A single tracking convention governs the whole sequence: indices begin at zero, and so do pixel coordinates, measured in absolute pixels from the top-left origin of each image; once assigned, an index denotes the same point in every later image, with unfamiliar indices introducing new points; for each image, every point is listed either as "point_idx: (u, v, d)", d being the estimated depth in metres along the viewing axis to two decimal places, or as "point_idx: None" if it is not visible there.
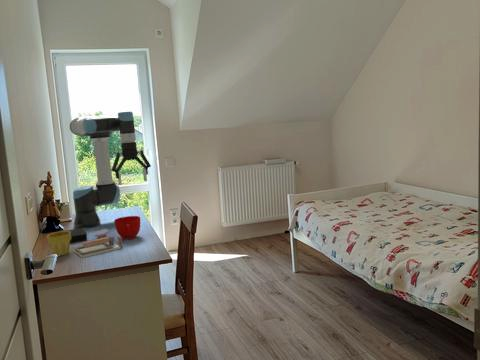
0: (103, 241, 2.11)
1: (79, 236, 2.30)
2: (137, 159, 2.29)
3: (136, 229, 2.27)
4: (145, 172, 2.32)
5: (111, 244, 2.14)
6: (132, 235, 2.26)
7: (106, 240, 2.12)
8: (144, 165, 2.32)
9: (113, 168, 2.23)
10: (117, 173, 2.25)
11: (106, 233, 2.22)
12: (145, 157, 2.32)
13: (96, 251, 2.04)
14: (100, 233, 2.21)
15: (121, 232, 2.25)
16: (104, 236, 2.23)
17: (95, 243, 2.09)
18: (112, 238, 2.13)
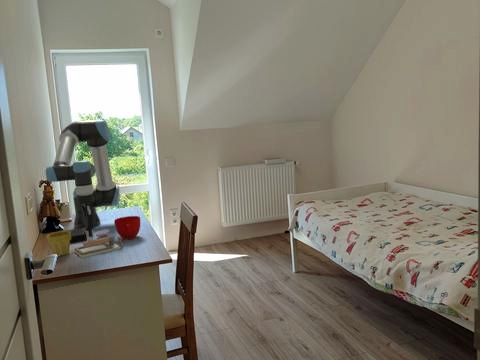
0: (103, 241, 2.11)
1: (79, 236, 2.30)
2: (84, 215, 2.07)
3: (136, 229, 2.27)
4: (87, 234, 2.09)
5: (111, 244, 2.14)
6: (132, 235, 2.26)
7: (106, 240, 2.12)
8: (86, 226, 2.08)
9: (84, 224, 2.12)
10: None
11: (107, 233, 2.22)
12: (87, 219, 2.04)
13: (96, 251, 2.04)
14: (101, 233, 2.21)
15: (121, 232, 2.25)
16: (105, 236, 2.23)
17: (95, 243, 2.09)
18: (112, 238, 2.13)
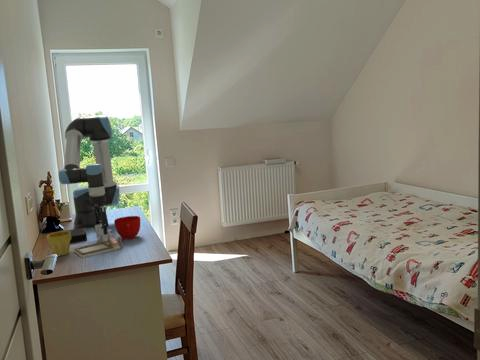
0: None
1: (79, 236, 2.30)
2: (97, 215, 2.19)
3: (136, 229, 2.27)
4: (102, 231, 2.18)
5: (111, 244, 2.14)
6: (132, 235, 2.26)
7: None
8: (101, 224, 2.18)
9: (93, 220, 2.29)
10: None
11: (109, 233, 2.22)
12: (101, 216, 2.16)
13: (96, 251, 2.04)
14: None
15: (121, 232, 2.25)
16: None
17: None
18: None
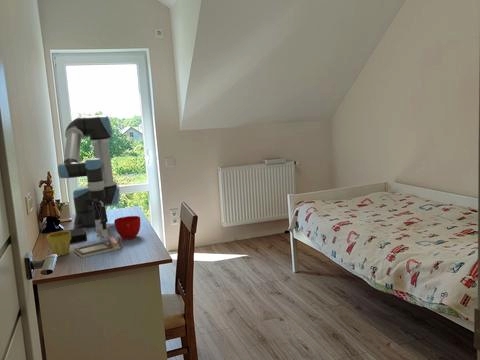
0: None
1: (79, 236, 2.30)
2: (97, 209, 2.20)
3: (136, 229, 2.27)
4: (101, 227, 2.19)
5: (111, 244, 2.14)
6: (132, 235, 2.26)
7: None
8: (100, 219, 2.19)
9: (93, 215, 2.29)
10: None
11: (108, 227, 2.23)
12: (101, 211, 2.16)
13: (96, 251, 2.04)
14: None
15: (121, 232, 2.25)
16: None
17: None
18: None
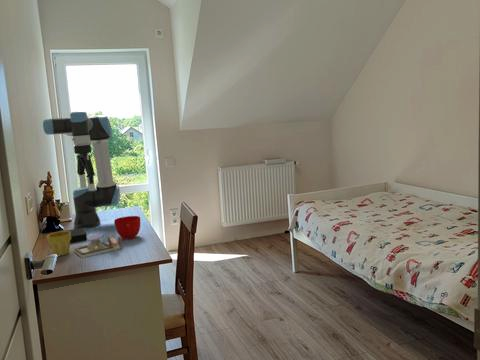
0: None
1: (79, 236, 2.30)
2: (82, 165, 2.07)
3: (136, 229, 2.27)
4: None
5: (111, 244, 2.14)
6: (132, 235, 2.26)
7: None
8: (87, 173, 2.05)
9: (77, 170, 2.18)
10: None
11: (99, 238, 2.08)
12: (86, 164, 2.03)
13: (96, 251, 2.04)
14: (93, 238, 2.07)
15: (121, 232, 2.25)
16: (97, 241, 2.09)
17: None
18: None
